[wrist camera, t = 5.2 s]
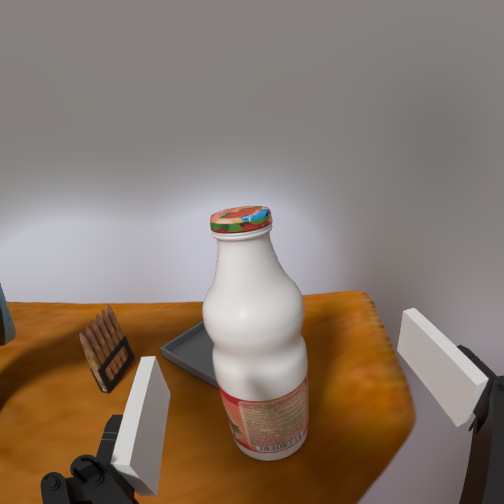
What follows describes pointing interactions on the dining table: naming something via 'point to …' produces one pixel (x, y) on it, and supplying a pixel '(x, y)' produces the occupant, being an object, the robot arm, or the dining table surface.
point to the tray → (193, 353)
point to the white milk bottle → (257, 337)
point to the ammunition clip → (106, 350)
